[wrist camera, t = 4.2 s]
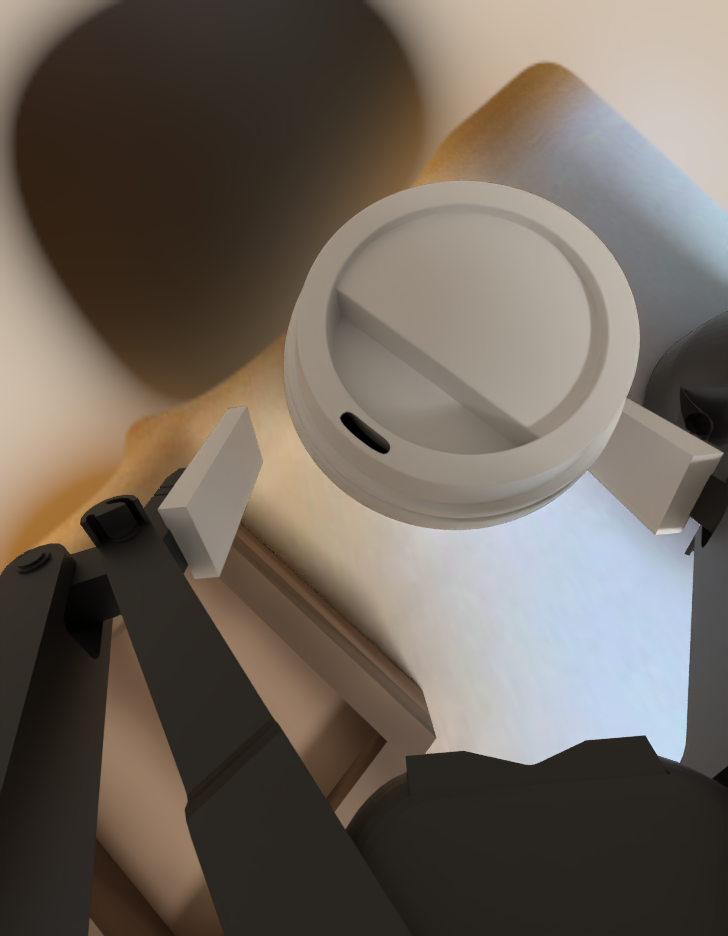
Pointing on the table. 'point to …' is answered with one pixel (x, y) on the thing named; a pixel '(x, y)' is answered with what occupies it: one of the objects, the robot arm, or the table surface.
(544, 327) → the coffee cup
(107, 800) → the walnut stand
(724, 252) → the table surface
